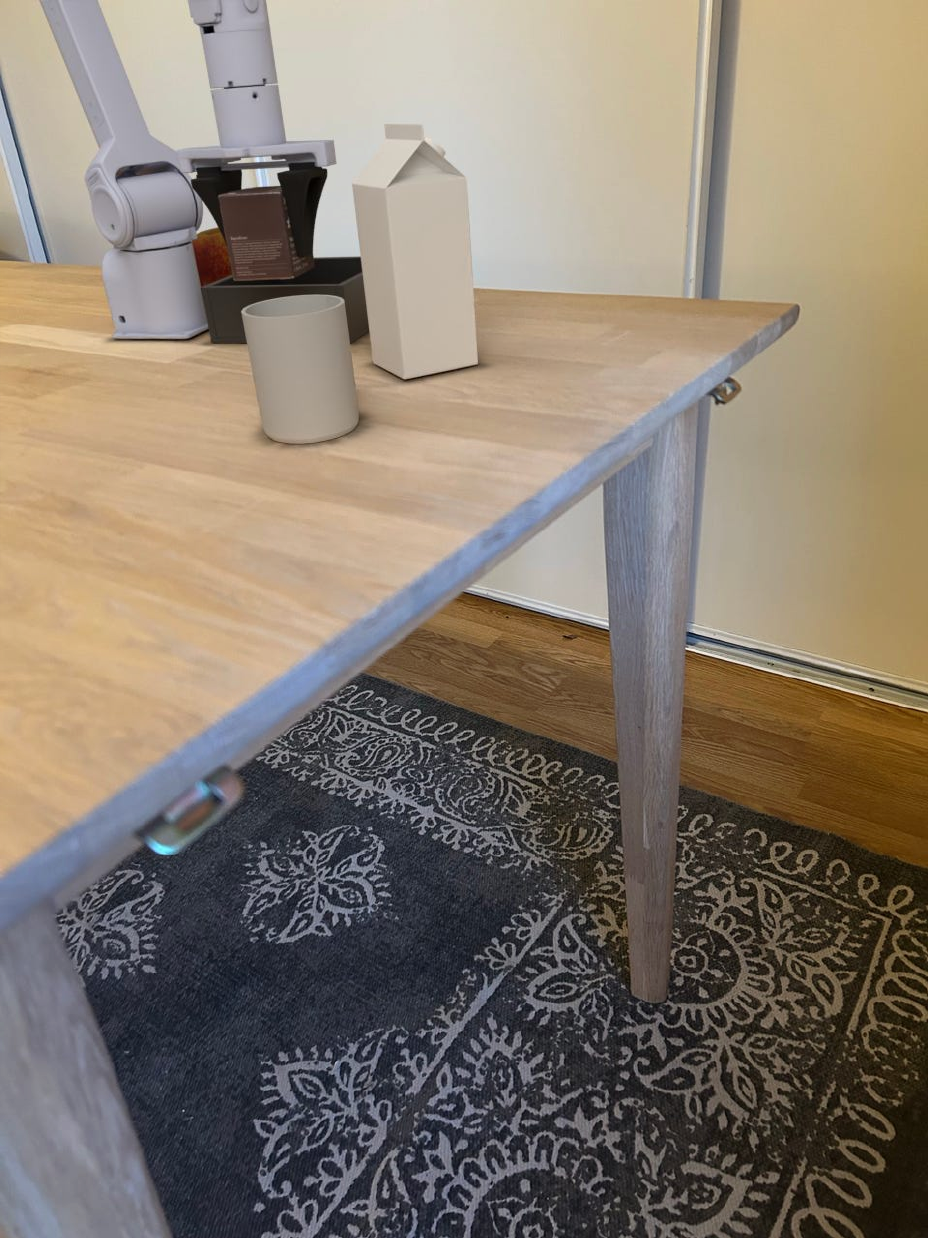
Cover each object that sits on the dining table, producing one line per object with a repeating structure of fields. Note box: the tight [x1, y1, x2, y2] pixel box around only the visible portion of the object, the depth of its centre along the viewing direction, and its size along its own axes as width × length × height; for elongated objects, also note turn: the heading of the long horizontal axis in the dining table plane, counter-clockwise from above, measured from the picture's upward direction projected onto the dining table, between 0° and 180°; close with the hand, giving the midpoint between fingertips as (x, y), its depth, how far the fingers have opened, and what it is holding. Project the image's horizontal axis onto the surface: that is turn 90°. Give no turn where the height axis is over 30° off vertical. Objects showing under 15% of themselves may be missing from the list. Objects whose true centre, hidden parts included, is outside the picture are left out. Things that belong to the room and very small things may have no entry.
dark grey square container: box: [200, 255, 370, 345], centre depth 100 cm, size 16×16×6 cm
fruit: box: [191, 226, 232, 287], centre depth 116 cm, size 10×9×8 cm
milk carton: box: [351, 123, 479, 380], centre depth 79 cm, size 7×7×19 cm
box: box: [218, 185, 315, 281], centre depth 86 cm, size 6×6×7 cm
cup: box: [241, 295, 360, 445], centre depth 70 cm, size 7×10×9 cm
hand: (271, 255), depth 87 cm, fingers closed on box, 6 cm apart
